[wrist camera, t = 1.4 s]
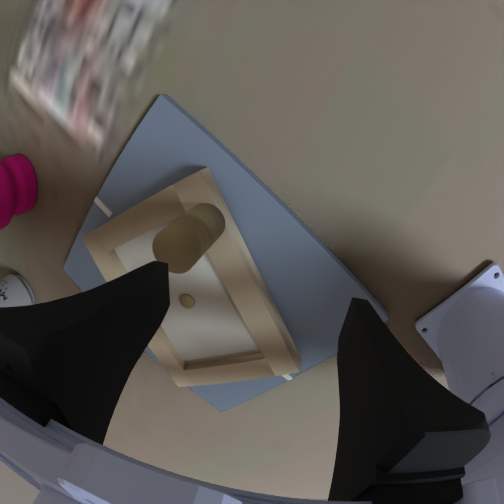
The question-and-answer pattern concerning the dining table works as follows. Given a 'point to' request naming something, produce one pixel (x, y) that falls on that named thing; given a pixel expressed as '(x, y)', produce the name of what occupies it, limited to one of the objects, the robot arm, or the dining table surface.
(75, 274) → the board
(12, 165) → the pepper mill
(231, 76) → the dining table surface
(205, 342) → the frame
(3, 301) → the energy drink can
